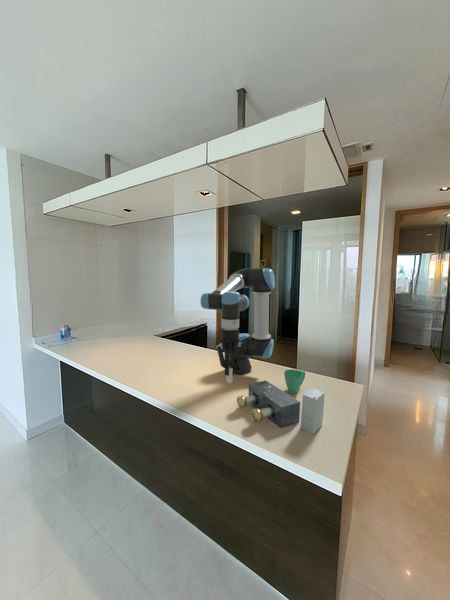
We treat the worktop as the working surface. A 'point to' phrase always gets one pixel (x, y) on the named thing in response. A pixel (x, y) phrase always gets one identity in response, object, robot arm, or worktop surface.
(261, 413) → the knob right
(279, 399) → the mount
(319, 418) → the skincare box
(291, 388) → the mug
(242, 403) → the knob left
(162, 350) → the worktop surface
